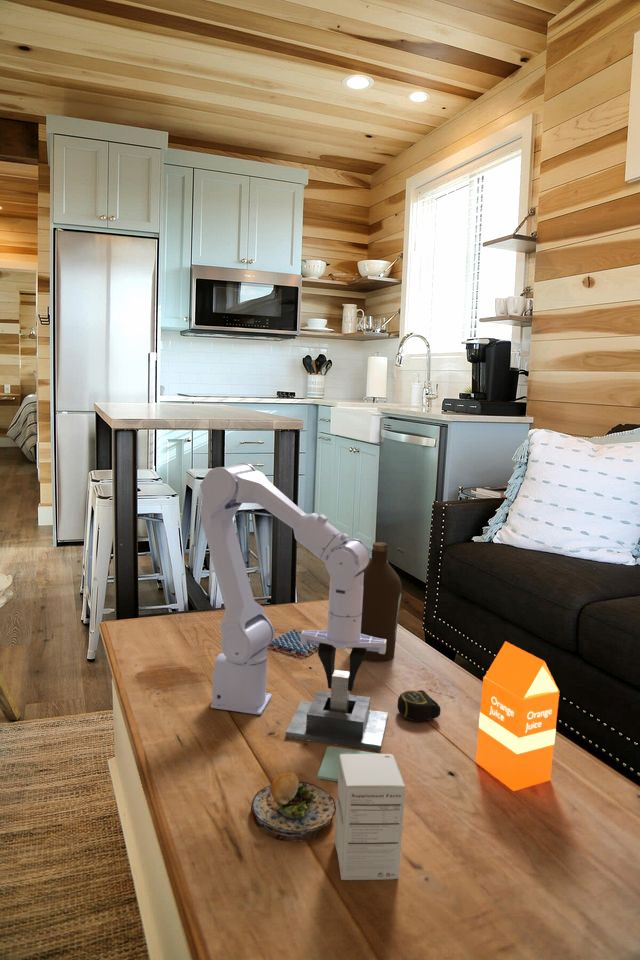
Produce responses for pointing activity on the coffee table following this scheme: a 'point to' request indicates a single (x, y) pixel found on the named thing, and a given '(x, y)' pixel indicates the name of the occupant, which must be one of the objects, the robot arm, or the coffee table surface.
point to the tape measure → (417, 706)
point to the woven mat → (293, 645)
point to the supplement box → (369, 816)
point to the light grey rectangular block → (340, 691)
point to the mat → (334, 762)
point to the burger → (291, 809)
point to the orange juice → (517, 719)
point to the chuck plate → (330, 739)
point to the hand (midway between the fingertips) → (340, 687)
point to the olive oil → (380, 602)
